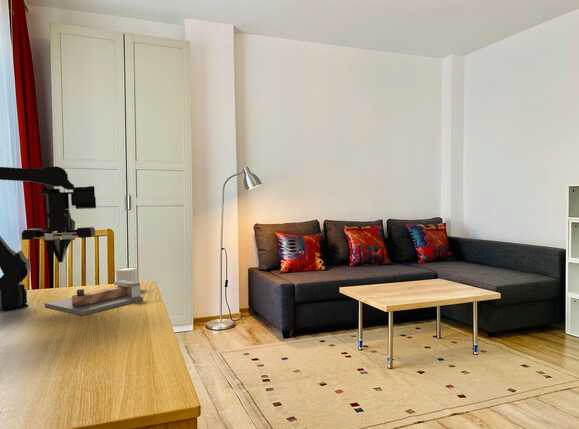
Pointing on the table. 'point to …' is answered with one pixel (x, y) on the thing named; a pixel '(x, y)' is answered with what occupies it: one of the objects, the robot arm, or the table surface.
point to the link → (97, 295)
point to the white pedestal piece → (127, 274)
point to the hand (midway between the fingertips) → (60, 262)
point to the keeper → (130, 287)
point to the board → (91, 305)
